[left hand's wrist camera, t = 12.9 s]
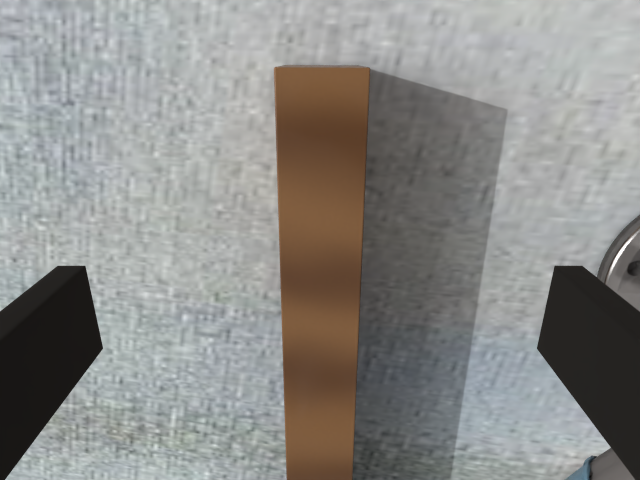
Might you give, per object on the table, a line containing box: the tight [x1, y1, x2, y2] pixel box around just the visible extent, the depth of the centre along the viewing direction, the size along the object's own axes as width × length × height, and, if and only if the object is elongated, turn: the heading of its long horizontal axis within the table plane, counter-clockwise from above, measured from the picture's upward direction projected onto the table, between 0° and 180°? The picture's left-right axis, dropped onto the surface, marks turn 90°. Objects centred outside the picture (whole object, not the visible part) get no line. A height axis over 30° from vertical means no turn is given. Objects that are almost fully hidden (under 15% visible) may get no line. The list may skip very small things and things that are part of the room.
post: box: [274, 65, 370, 480], centre depth 41 cm, size 64×5×8 cm, turn 0°
